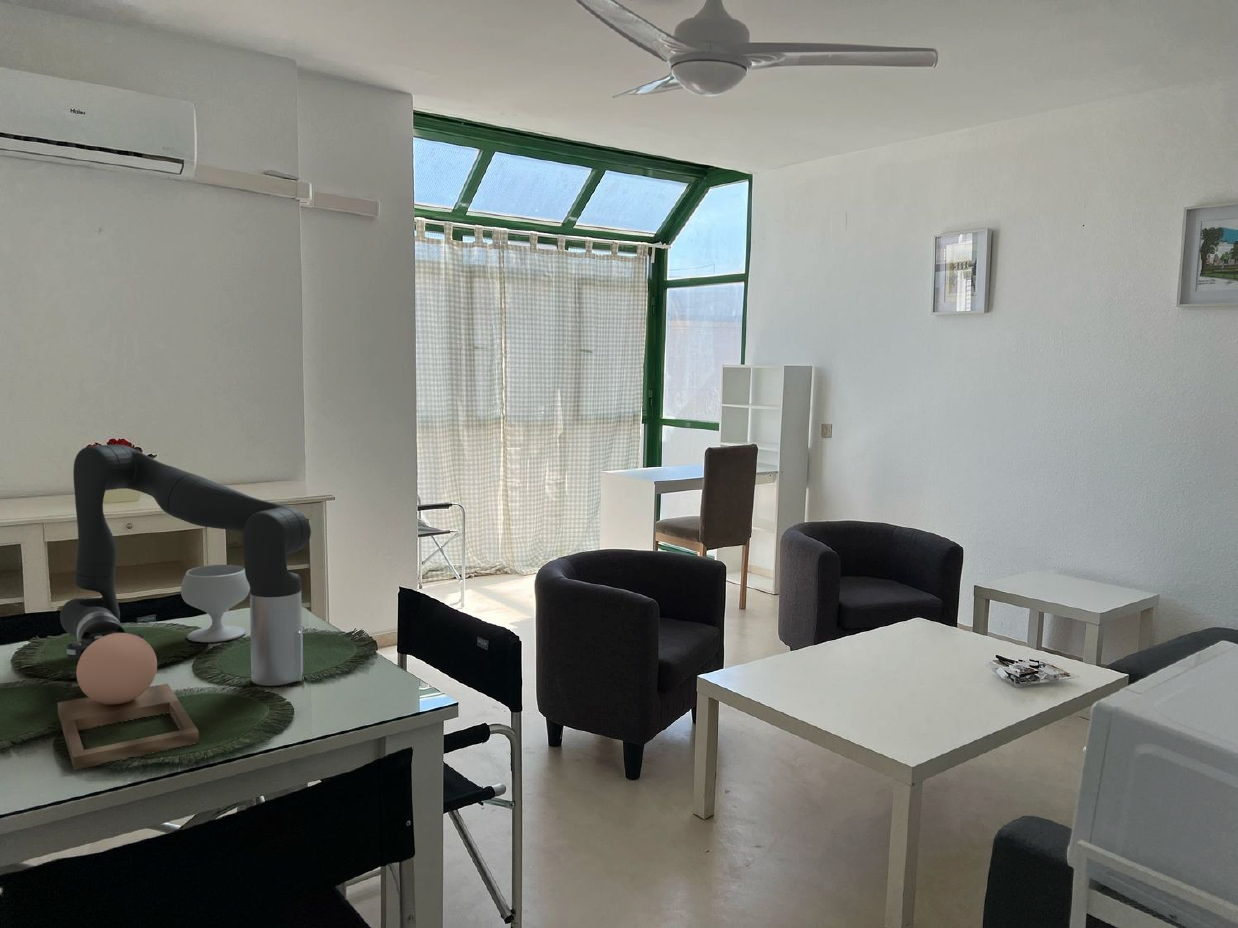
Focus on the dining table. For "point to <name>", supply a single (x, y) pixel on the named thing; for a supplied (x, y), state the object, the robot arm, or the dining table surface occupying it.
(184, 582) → the chalice
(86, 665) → the ball
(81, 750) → the wooden rectangular frame
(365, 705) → the dining table surface
